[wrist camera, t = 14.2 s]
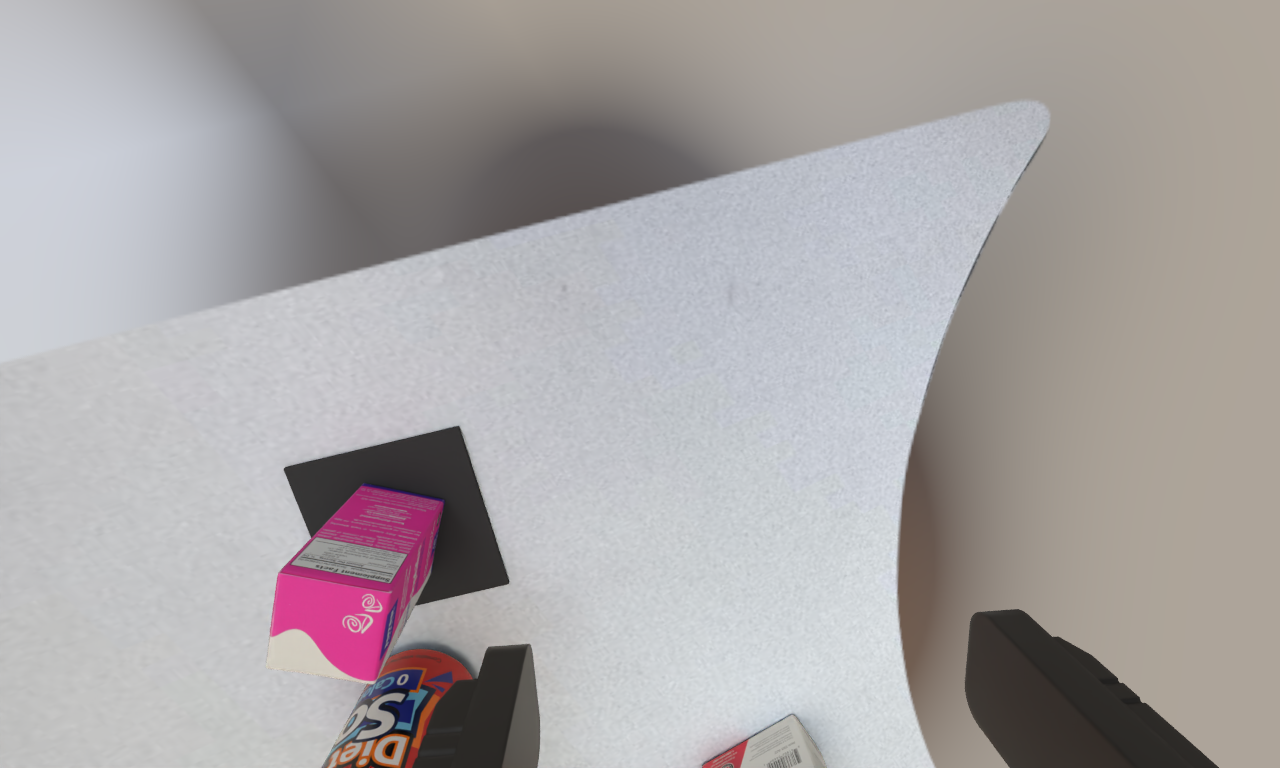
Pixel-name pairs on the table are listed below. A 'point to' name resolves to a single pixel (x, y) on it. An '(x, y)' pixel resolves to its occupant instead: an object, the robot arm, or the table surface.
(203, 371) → the table surface
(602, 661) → the table surface
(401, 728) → the soda can
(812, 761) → the ink box
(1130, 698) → the robot arm
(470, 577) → the felt pad
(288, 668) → the supplement box
